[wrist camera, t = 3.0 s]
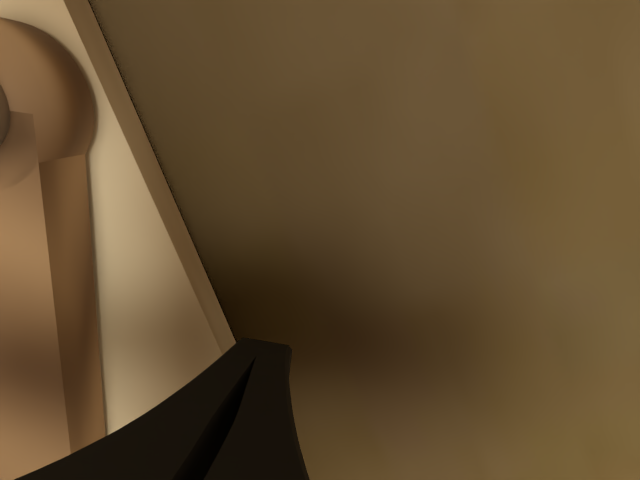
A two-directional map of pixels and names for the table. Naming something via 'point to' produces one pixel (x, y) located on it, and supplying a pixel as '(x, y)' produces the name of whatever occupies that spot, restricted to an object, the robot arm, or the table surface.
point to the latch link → (45, 256)
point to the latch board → (133, 237)
